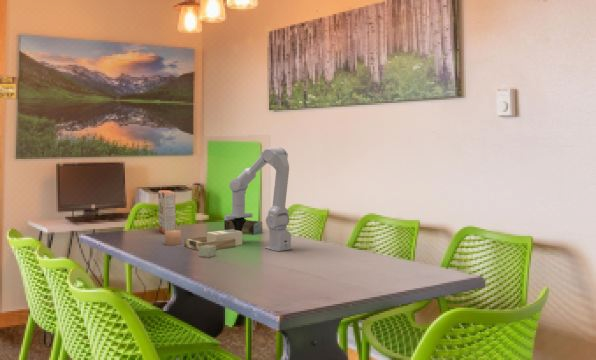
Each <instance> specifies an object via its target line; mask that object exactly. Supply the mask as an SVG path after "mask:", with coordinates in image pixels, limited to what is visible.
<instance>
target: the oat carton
mask: <svg viewBox="0 0 596 360" xmlns="http://www.w3.org/2000/svg"><path fill="white" fill-rule="evenodd" d="M206 236H207V242H211V241H219V240H227V239H235V247H236V246H241V245H243V234H242V231H238V230H234V229H232V230H225V229H223V230H215V231H208V232H206Z"/></svg>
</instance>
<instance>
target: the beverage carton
mask: <svg viewBox="0 0 596 360" xmlns="http://www.w3.org/2000/svg"><path fill="white" fill-rule="evenodd" d="M223 222H224V230H232V229H234V230H235V227H234V225H233V223H232V221H231V219H230V220H224V221H223ZM262 233H263V222H262V221H259V220H248V219H246V222H245V223H244V225H243V228H242V235H243V234H244V235H252V236H255V235H260V234H262Z"/></svg>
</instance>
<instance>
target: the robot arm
mask: <svg viewBox="0 0 596 360" xmlns="http://www.w3.org/2000/svg"><path fill="white" fill-rule="evenodd" d="M288 157H289V153H288V152H287V151H286V149H285V148H284V147H266V148H265V149H264V150H263V151H262V152H261V153H260V155H259V157H258V158H257V159H256V160H255V161H254V163H253V164H252V165H251V166H250V167H246V168H243V170H242V172H241V173H240V174H239V175H237V177H236V178H232V179H231V180H230V182H229V189H230V190H231V193H232V197H231V198H232V201H231V202H232V203H231V204H232V211H231V212H232V213H231V214H227V215H225V214H224V216H223V220H224V221H225V220H230V219H231V221H232V223H233V225H234V227H235V230H238V231H242V228H243V225H244V223H245V222H246V220H247V219H248V218H251V219H252V218H253V217H254V216H253V215H254V214H253V213H252V212H248V213H246V200H245V199H246V192H247V189H248V187H249V186H248V185H250V183H251V182H252V181H253V180H254V179H255V178H256V176H257V173H258V172H259V171H260V170H261V169H262V168H263V167H265V165H267V164H269V165H270V166H271V167H272V168H273V169H275V179H274V189H273V190H274V191H273V197H272V198H273V199H272V206H271V207H270V208H269V210H268V213H267V216H266V219H265V224H266V226H267V228H268V229H269V235H268V238H269V241H268V242H269V244H268V245H269V246H265V249H268V250H273V251H276V252H282V251H287V250H289V251H290V250H292V249H293V248H292V246H291V245H292V244H291V242H292V240H291V239H292V236H291V232H290V231H289V230H287V226H288V224H289V223H290V216H289V210H288V209H287V207H286V202H287V201H286V200H287V192H288V186H289V185H288V182H289V176H290V175H289V174H290V173H289V172H290V164H289V160H288V159H289V158H288Z"/></svg>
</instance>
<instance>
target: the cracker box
mask: <svg viewBox="0 0 596 360" xmlns="http://www.w3.org/2000/svg"><path fill="white" fill-rule="evenodd" d="M158 229H159V231H160V232H161V233H162V234H164V235H165V231H166V230H177V227H176V192H174V191H172V190H170V189H169V190H166V189H165V190H164V189H162V190H161V189H160V190H158Z"/></svg>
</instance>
